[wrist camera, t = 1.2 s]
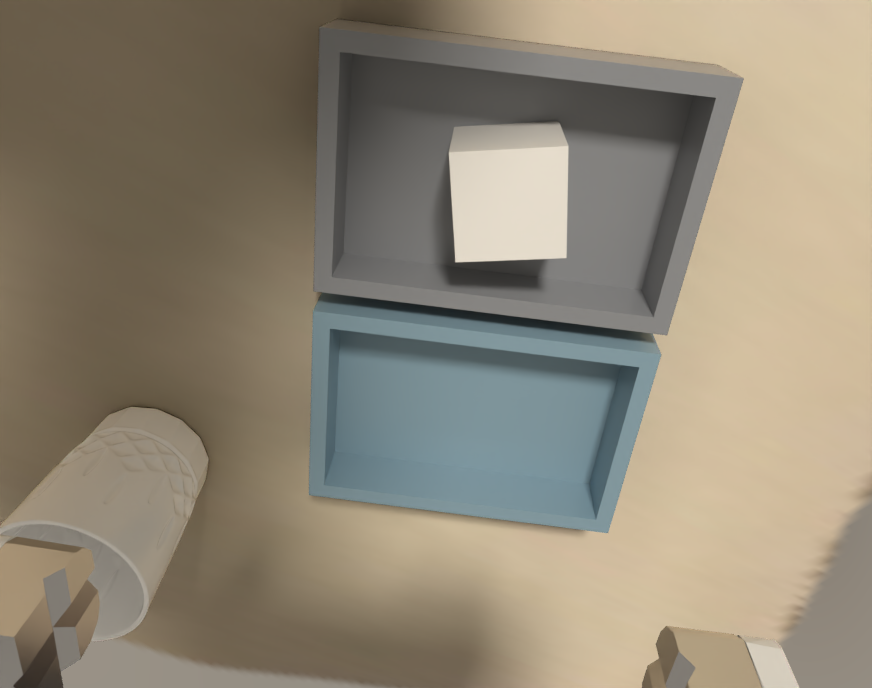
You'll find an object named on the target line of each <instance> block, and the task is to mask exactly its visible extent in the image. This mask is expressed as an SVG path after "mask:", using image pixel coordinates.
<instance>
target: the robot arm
mask: <svg viewBox="0 0 872 688" xmlns="http://www.w3.org/2000/svg"><path fill="white" fill-rule="evenodd" d="M94 568H95V566H94V561H93V556H92V551H91V550H89V549H87V548H84V547H78V546H72V545H66V544H59V543H53V542H47V541H41V540H35V539H29V538H23V537H13V536H7V535H0V688H63V682H62V676H61V671H63V670H64V669H66V668H67V667H69V666H70V665H72V664H74V663H75V662H77V661H78V660H80V659H81V657H82V655H83V654H84V652H85V650H86V649H87V647H88V645H89V643H90V642H91V639H92V637H93V634H94V631H95V628H96V625H97V622H98V617H99V607H100V601H99V593H98V590H97V589H96V588H95V587H94V586H93V585H92V584H91V583H90V582H89V580H88V577H89V576H90V574H91V573H92V571H93V570H94ZM656 647H657V651H658V656H659V659H658V660H656V661H654V662H653V663H651V664H650V665H648V666H647V670H646V673H645V676H644V679H643V682H642V688H799V686H798V683H797V681H796V679H795V677H794V674H793V672H792V670H791V668H790V665H789V663H788V661H787V659H786V656H785V654H784V652H783V649H782V647H781V646H780V645H779V644H778V643H777V642H776V641H775V640H773V639H765V638H757V637H749V636H742V635H737V636H736V635H734V634H728V633H720V632H712V631H704V630H696V629H688V628H679V627H671V626H666V627H665V628H664V629H663V630H662V631H661V632H660V635H659V637H658V640H657V642H656Z"/></svg>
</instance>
